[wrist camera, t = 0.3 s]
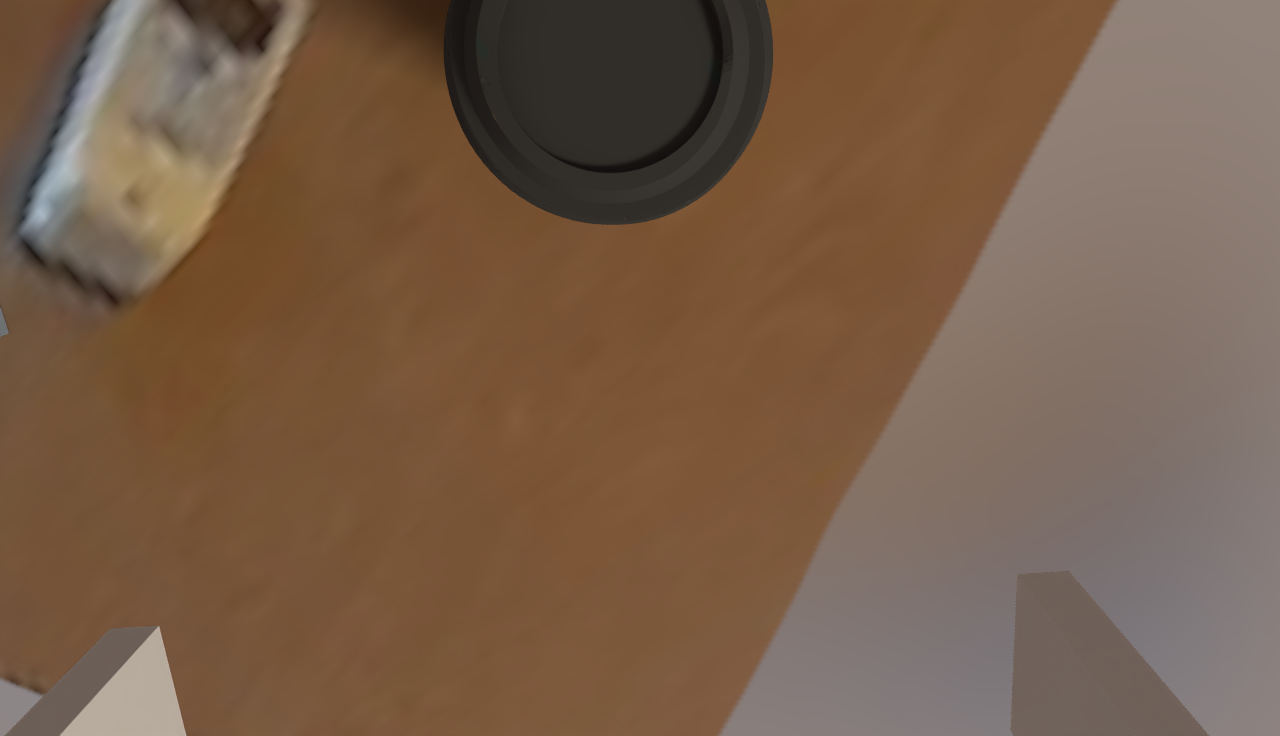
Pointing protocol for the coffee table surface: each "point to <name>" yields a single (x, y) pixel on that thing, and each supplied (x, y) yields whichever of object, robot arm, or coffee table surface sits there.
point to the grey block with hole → (2, 325)
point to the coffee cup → (609, 98)
